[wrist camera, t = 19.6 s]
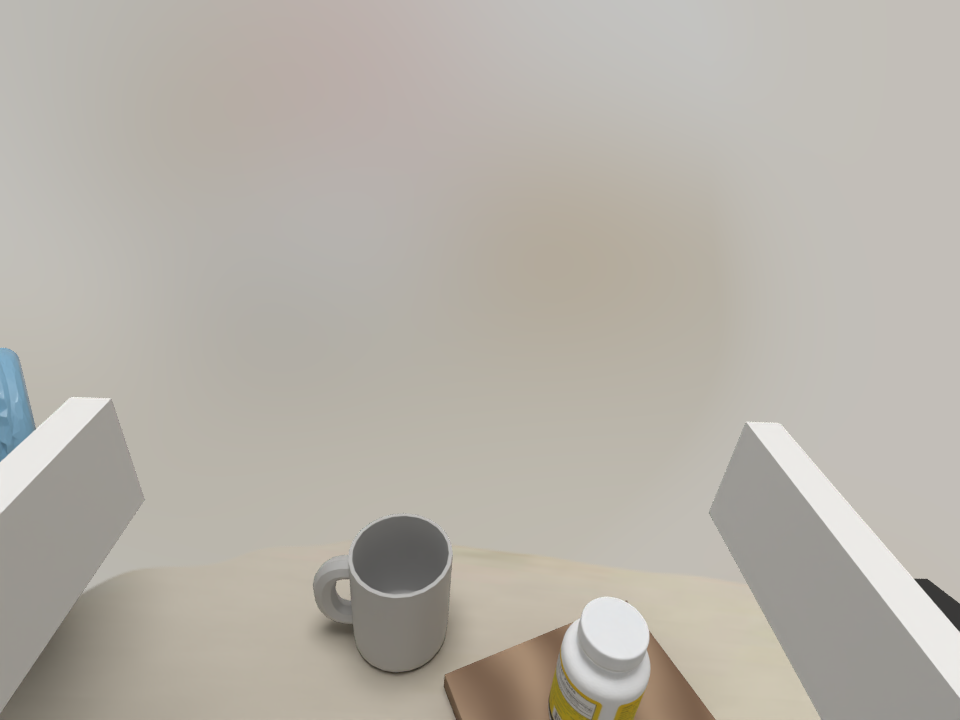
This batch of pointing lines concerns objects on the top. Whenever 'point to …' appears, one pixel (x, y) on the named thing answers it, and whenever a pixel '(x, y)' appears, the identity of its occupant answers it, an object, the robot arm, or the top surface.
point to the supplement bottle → (601, 664)
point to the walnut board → (528, 679)
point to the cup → (392, 590)
